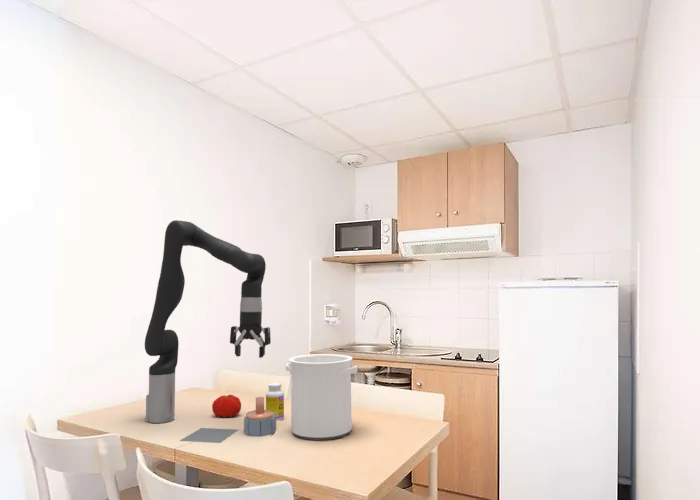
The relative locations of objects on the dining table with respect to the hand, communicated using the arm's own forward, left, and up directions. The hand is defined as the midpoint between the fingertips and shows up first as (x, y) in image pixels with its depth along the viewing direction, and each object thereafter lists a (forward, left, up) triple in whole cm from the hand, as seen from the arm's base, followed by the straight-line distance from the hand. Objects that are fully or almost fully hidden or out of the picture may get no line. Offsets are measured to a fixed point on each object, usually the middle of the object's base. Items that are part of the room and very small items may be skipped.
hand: (249, 356), depth 168 cm
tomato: (-16, +15, -25) cm, 33 cm away
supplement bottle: (+4, +13, -25) cm, 29 cm away
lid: (+5, -4, -19) cm, 20 cm away
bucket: (+25, +1, -25) cm, 36 cm away
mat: (-10, -10, -25) cm, 28 cm away
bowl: (+5, -4, -25) cm, 26 cm away
